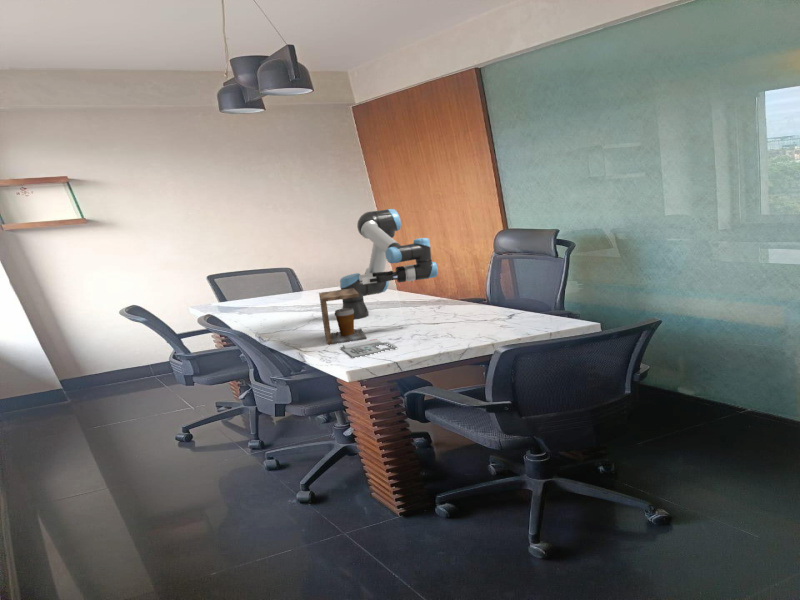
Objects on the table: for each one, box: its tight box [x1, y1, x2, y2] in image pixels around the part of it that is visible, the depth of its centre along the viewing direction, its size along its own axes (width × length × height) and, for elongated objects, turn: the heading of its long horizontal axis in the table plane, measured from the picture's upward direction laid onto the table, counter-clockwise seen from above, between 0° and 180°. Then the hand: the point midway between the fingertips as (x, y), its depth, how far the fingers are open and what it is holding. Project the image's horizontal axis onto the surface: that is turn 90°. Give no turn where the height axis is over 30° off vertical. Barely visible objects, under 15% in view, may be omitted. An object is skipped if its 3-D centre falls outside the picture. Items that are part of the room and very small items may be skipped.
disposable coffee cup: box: [334, 308, 355, 336], centre depth 322 cm, size 10×10×12 cm
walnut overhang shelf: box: [318, 288, 368, 346], centre depth 319 cm, size 18×22×22 cm
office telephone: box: [339, 338, 398, 359], centre depth 291 cm, size 23×3×20 cm
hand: (360, 279), depth 318 cm, fingers open, 13 cm apart
